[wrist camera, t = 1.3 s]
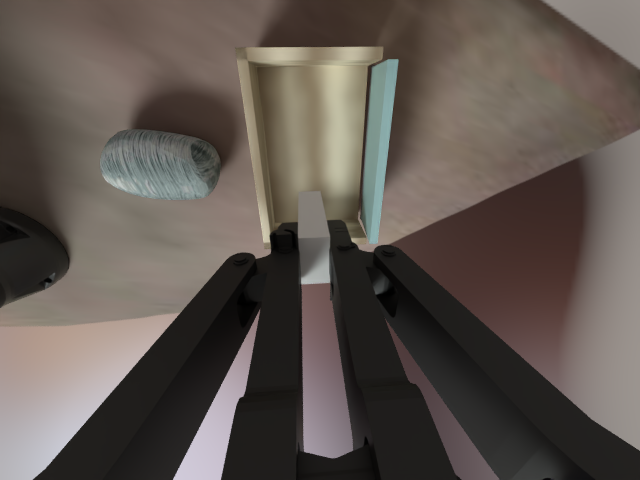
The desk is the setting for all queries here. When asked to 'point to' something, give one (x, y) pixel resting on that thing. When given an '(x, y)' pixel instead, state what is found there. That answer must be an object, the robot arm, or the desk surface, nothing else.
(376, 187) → the cabinet door
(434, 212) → the desk surface
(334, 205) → the crate
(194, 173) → the spool
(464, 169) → the desk surface
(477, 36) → the desk surface
